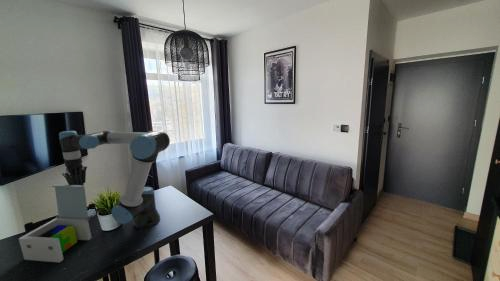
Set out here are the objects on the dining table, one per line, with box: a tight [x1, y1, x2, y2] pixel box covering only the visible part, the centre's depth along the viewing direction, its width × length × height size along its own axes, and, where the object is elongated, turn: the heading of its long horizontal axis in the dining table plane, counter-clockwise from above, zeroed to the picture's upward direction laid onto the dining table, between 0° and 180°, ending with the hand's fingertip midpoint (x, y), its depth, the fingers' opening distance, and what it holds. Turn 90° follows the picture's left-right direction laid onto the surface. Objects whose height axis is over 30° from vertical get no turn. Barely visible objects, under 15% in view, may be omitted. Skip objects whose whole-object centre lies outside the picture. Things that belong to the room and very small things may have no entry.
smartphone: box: [87, 209, 97, 218], centre depth 145 cm, size 7×1×15 cm
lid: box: [51, 184, 88, 219], centre depth 114 cm, size 18×20×2 cm
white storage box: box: [18, 214, 92, 263], centre depth 108 cm, size 21×19×14 cm
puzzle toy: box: [39, 225, 78, 254], centre depth 109 cm, size 10×10×10 cm
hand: (80, 196), depth 120 cm, fingers closed
